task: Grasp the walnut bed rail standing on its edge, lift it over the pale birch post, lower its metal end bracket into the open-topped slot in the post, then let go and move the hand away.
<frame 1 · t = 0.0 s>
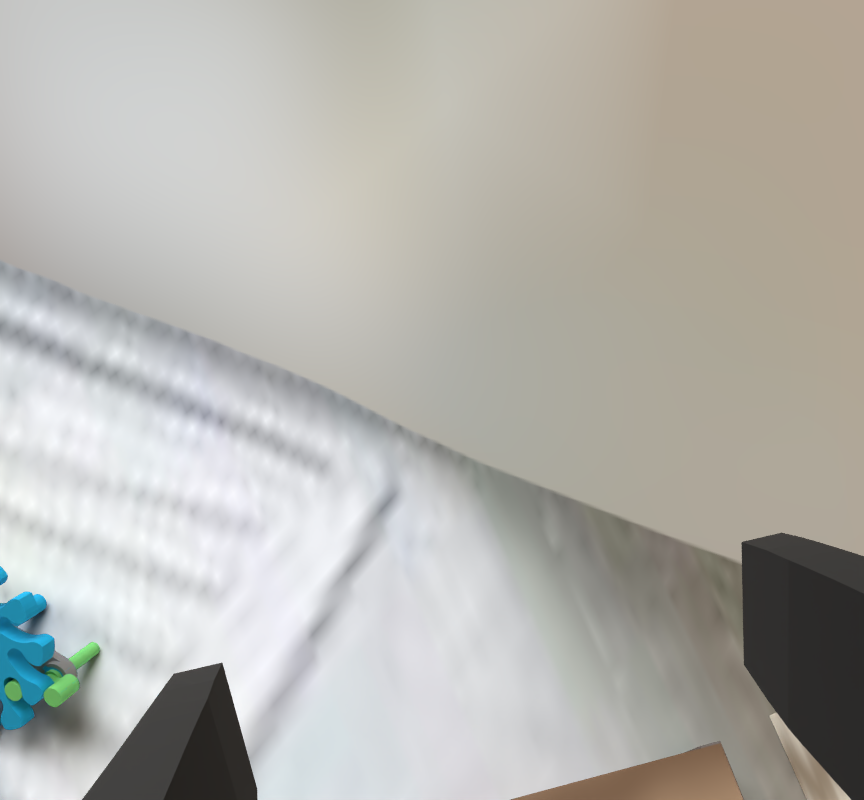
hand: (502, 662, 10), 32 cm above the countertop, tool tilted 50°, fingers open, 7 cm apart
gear: (14, 666, 41), on the countertop
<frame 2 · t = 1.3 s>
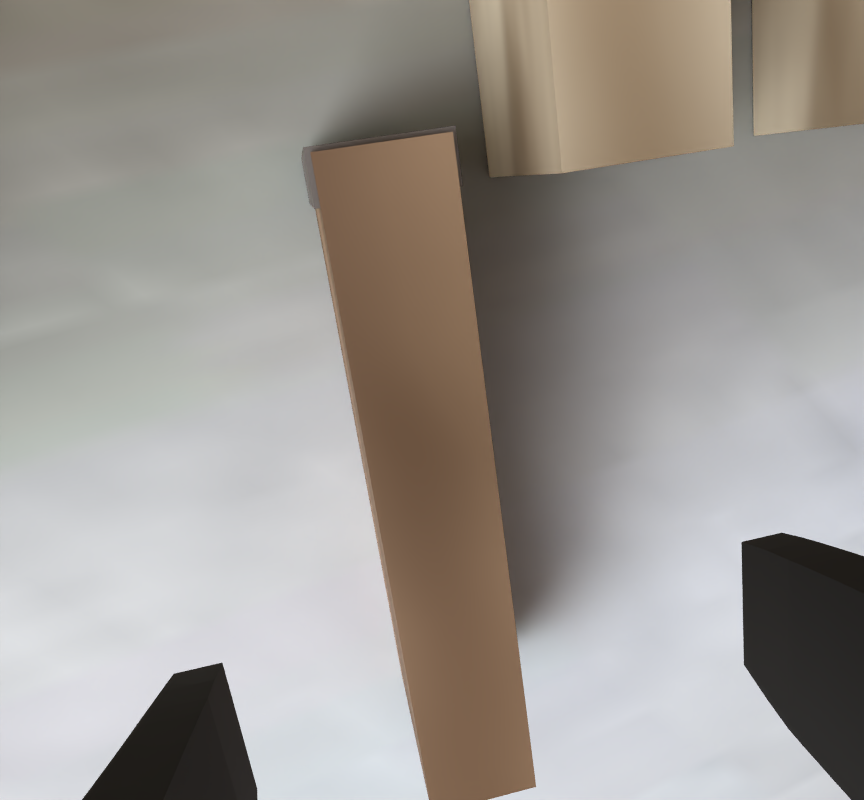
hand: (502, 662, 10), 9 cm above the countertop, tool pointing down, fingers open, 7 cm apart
bed rail: (405, 436, 19), on the countertop
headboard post: (681, 11, 17), on the countertop
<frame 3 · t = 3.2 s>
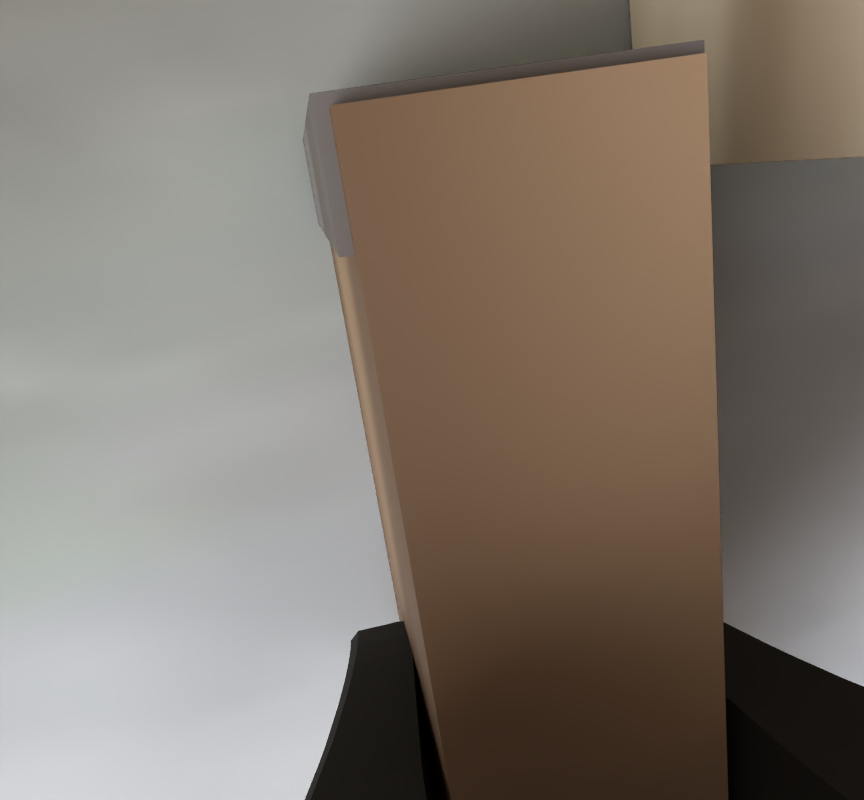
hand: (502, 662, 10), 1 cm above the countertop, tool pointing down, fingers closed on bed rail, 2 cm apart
bed rail: (477, 611, 11), on the countertop, touching gripper
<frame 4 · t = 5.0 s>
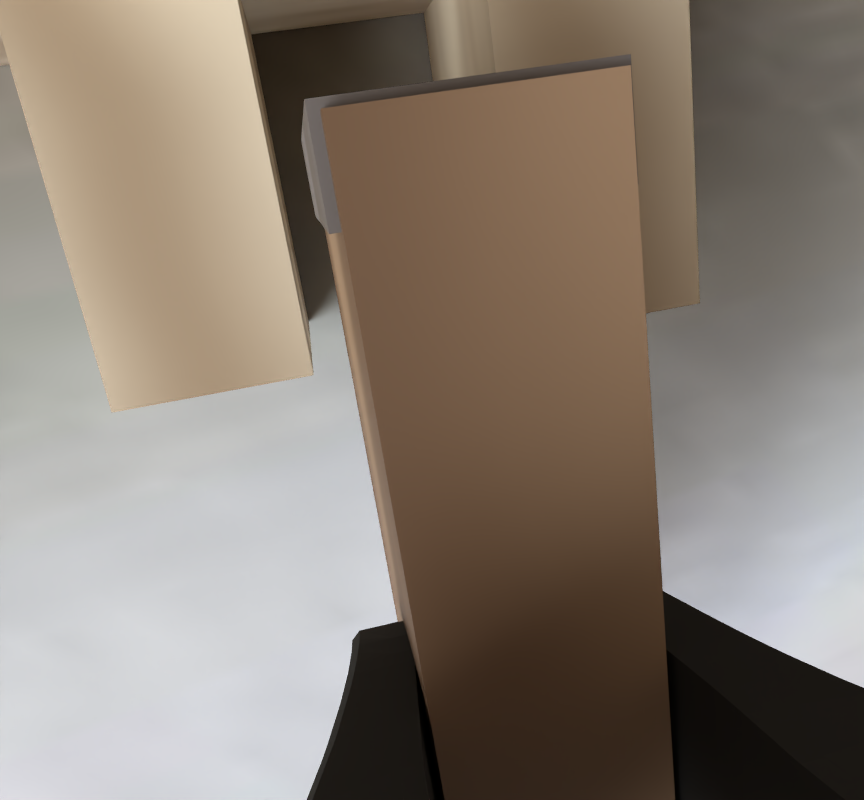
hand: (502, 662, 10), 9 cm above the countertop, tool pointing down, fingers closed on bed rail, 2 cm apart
bed rail: (462, 574, 12), point 6 cm above the countertop, touching gripper
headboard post: (363, 173, 16), on the countertop
when the fingers open (3 cm above the countertop, at t = 6.9 s): bed rail stays where it is, on the countertop.
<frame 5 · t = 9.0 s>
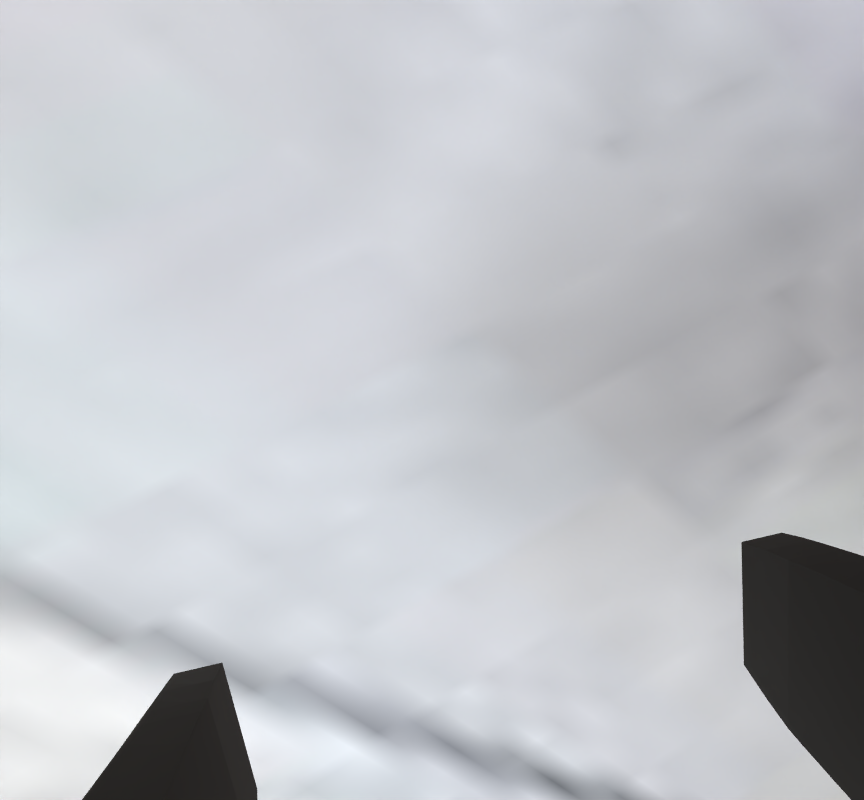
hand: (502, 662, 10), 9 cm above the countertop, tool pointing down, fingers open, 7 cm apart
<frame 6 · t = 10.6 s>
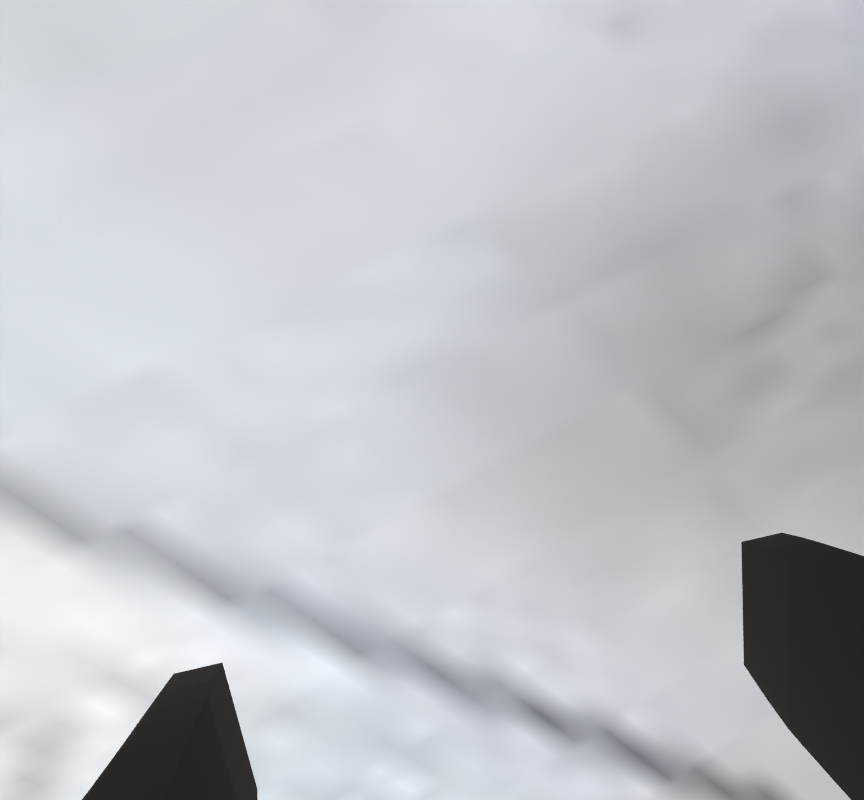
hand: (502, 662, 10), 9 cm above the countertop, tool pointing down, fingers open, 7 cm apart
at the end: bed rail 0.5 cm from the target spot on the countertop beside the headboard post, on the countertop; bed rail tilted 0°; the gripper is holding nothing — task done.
